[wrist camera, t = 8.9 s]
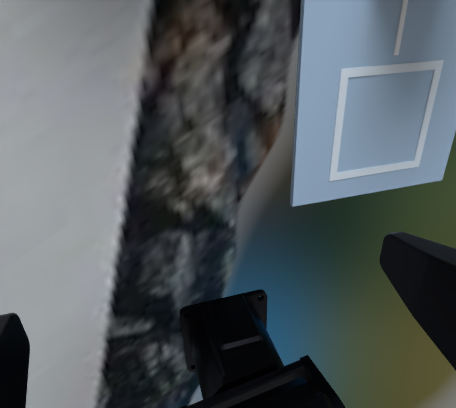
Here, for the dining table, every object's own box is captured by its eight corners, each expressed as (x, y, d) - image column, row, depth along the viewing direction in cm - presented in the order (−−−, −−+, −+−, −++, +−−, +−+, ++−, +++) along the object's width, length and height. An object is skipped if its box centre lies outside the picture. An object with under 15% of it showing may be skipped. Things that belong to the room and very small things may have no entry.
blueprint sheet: (437, 178, 27) (443, 180, 27) (289, 204, 24) (293, 207, 24) (554, -260, 17) (565, -267, 16) (317, -300, 14) (323, -309, 14)
